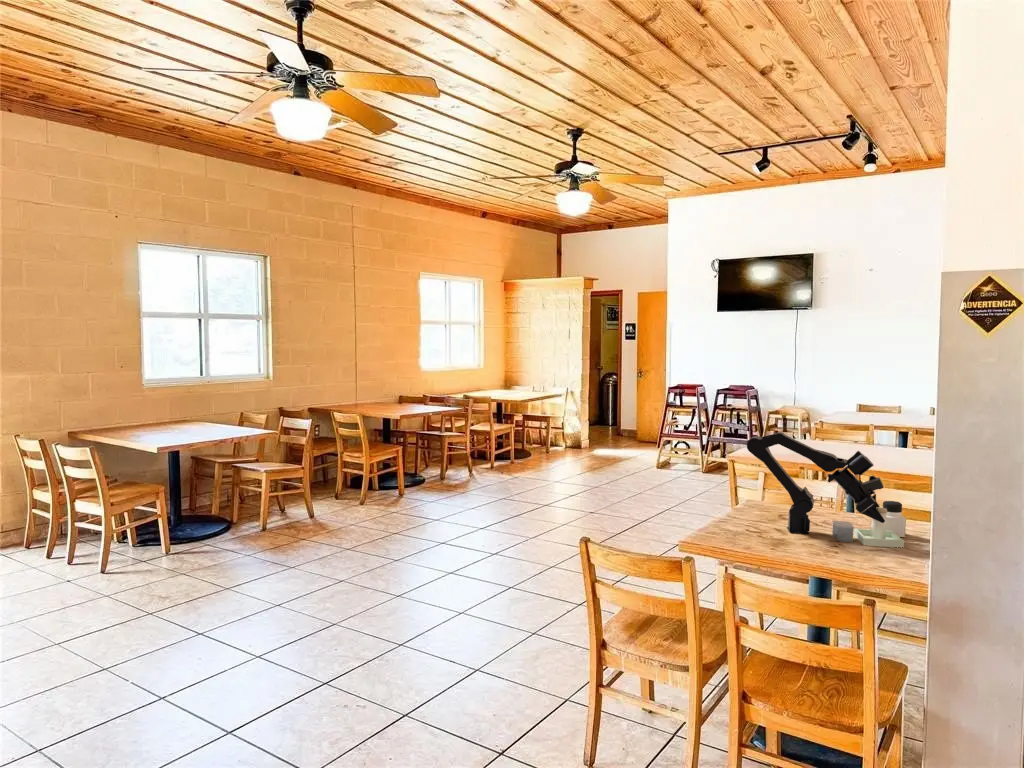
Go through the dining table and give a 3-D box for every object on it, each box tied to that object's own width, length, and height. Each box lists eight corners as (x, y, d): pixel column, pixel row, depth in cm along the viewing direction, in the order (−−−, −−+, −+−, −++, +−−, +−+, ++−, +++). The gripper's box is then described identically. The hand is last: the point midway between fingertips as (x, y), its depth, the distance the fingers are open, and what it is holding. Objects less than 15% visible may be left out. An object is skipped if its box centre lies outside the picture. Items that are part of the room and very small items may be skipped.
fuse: (877, 542, 243) (878, 510, 243) (867, 538, 248) (869, 507, 247) (888, 541, 244) (890, 509, 244) (879, 537, 249) (880, 506, 248)
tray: (863, 545, 241) (864, 538, 241) (854, 535, 253) (854, 528, 253) (903, 548, 239) (904, 540, 239) (892, 537, 251) (892, 530, 251)
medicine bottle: (905, 538, 251) (906, 504, 250) (883, 536, 252) (884, 503, 251) (898, 532, 258) (900, 499, 257) (877, 531, 259) (878, 498, 258)
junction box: (836, 541, 245) (837, 526, 245) (830, 534, 254) (831, 519, 254) (853, 542, 244) (854, 527, 244) (846, 535, 253) (847, 520, 253)
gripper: (868, 473, 238) (904, 510, 234) (869, 464, 254) (902, 499, 250) (841, 494, 242) (876, 531, 238) (843, 484, 258) (876, 518, 254)
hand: (883, 519), depth 245 cm, fingers open, 9 cm apart
